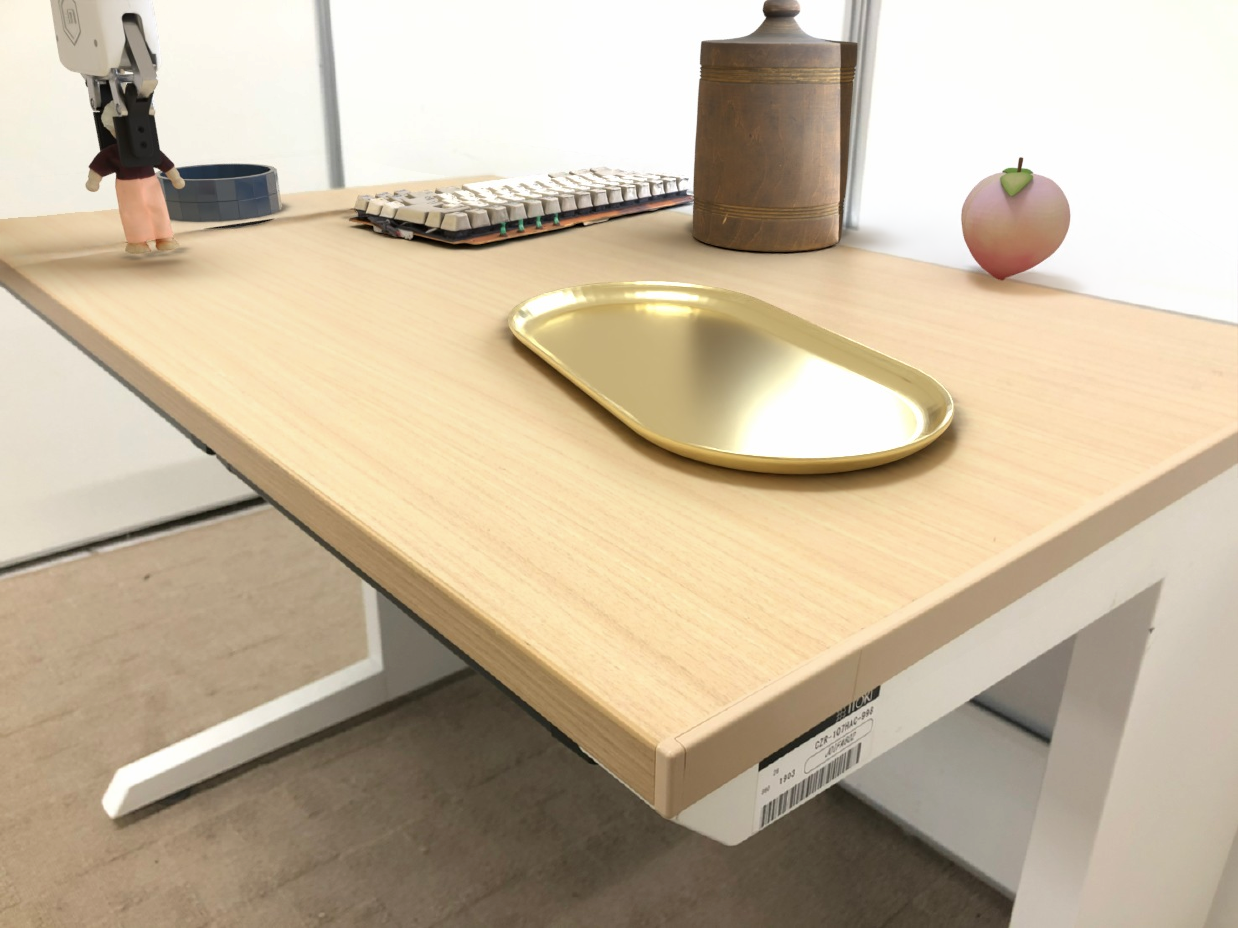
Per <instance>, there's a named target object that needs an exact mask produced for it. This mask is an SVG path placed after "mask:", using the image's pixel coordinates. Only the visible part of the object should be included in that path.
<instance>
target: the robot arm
mask: <svg viewBox="0 0 1238 928" xmlns="http://www.w3.org/2000/svg"><path fill="white" fill-rule="evenodd" d="M49 1H50V2H49V3H50V9H51V14H52V15H51V17H52V21H53V28H54V35H55V41H56V47H57V52H58V58H59V62H60V63H61V65H62V66H63V67H64V68H66V69H67V70H68V71H70V72H73V73H77V74H80V76H81V77H82V78H83V80H84V81H85V82H84V83H85V86H86V88H87V92H88V98H89V99H88V100H89V105H90V108H91V110H92V111H93V112H92V115H93V120H94V125H95V132H96V136H97V141H98V149H99V152H100V151H101V150H103V149H105V148H106V147H108V146H110V145H113V144H117V146H118V151H119V157H120V162H121V165H122V166H124V167H127V168H130V167H142V166H153V165H160V164H161V162H162V159H161V153H160V150H161V148H160V141H159V140H160V139H159V134H158V128H157V124H156V123H157V122H156V118H155V117H156V116H155V115H156V107H155V101H154V94H155V89H156V88H157V86H158V85H159V78H158V75H157V73H158V72H159V70H160V69H161V67H162V53H161V52H162V51H161V44H160V37H159V29H158V25H157V19H156V14H155V8H154V3H153V0H49ZM113 100H114V105H115V109H116V113H117V115H118V116H114V117H112V118H113V124H114V129H115V135H116V138H115V137H114V136H113V135H112V134H111V132H110V130H108V129H107V128H106V127H104V124H103V122H102V119H101V116H102V114H103V111H104V108H105V106H106V105H107V104H109V103H110V102H111V101H113Z"/></svg>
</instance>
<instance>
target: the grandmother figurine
mask: <svg viewBox="0 0 1238 928" xmlns="http://www.w3.org/2000/svg"><path fill="white" fill-rule="evenodd" d="M114 116H118V115H117V113H116V109H115V105H114V100H113V101H111V102H110V103H109V104H107V105H106V106H105V108H104V111H103V114H102V116H101V119H102V122H103V124H104V127H106V128H107V129H108V130H110V132H111V134H112V135H113V136H114V137H115V138H116V135H115V129H114V124H113V118H112V117H114ZM160 153H161V159H162V162H161V164H160V165H153V166H142V167H130V168H127V167H124V166H122V165H121V162H120V157H119V151H118V146H117V144H113V145H110V146H108V147H106V148H105V149H103V150H101V151H100V150H99V151H98V152H97V154H96V155H95V156H94V157H93V159H92V161H91V162H90V163H89V165H88V168H89V171H88V175H87V178H88V179H87V181H86V182H85V188H86V190H87V191H88V192H91V193H96V192H98V191H99V190H100V183H102V181H103V178H104V177H107V176H110V175H113V174H115V181H114V188H115V195H116V199H117V205H118V212H119V215H120V216H119V217H120V222H121V224H122V228H123V232H124V236H125V239H126V243H127V244H126V245H125V249H124V250H125V252H126V253H128V254H133V255H142V254H148V253H151V252H152V249H151V248H150V245H149V244H148V242H149V241H154V242H155V248H156V251H160V252H164V251H165V252H166V251H174V250H176V249H178V248H179V247H180V243H179V242H178V240H177V239H176V238H174V233H173V229H172V228H173V227H172V224H171V223H172V222H171V220H170V218H169V214H168V210H167V206H166V202H165V199H164V195H163V192H162V189H161V185H160V182H159V180H158V178H157V177H156V175H155V173H156V171H155V169H158V171H162V172H163V173H165V174H166V175H167V177H168V179H170V180H171V181H172V184H173V186H174V187H175V188H177V189H181V188H183V187H184V186H185V181H184V180H183V179H182V178H181V177H180V175H179V172H178V171H177V169H176V168H177V167H176V166H175V163H174V162H173V161H172V160H171V159H170V157H168V156H167V155H166V153H164V152H163V151H162V150H161V149H160Z"/></svg>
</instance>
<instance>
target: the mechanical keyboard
mask: <svg viewBox="0 0 1238 928" xmlns="http://www.w3.org/2000/svg"><path fill="white" fill-rule="evenodd" d="M689 190H691V186H690V180H689V176H688V175H682V174H678V175H675V176H674V174H673V173H667V172H663V173H659V174H658V173H651V172H646V173H641V172H637V171H629V172H628V171H626V170H623V169H620V168H616V169H611V168H609V167H607V166H601V167H593V168H592V167H591V168H589V170H588V169H586V168H583V169H579V170H570V171H569V172H566V171H560V172H556V173H548V174H547V175H546V174H545V173H544V174H543V173H541V174H531V175H524V176H523V175H522V176H515V177H509V178H500V179H492V180H484V181H477V182H470V183H463V184H462V185H461V187H458V186H457V185H452V186H447V187H437V188H435V190H434V191H433V190H430V189H425V190H420V191H413V192H412V191H410V190H408V189H399V190H393V194H391V193H390V192H386V191H383V192H381V193H375V194H374V196H373V195H372V194H366V195H360V194H359V195H357V196H356V197H357V198H356V201H355V204H354V206H353V210H354V211H355V212H356V214H357V216H353V217H350V218H348V221H349V222H353V223H357V224H364V225H367V226H373V231H374V233H381V234H384V235H389V236H393V237H394V238H398V237H399V238H404V239H405V240H409V241H411V240H412V239H413V238H414V236H417V237H422V238H426V239H431V240H434V241H439V242H443V243H447V244H452V245H458V244H469V245H475V246H476V245H481V244H487V243H493V242H498V241H504V240H507V239H512V238H513V239H514V238H518V237H523V236H528V235H533V234H540V233H544V232H549V231H554V230H560V229H564V228H568V227H569V228H570V227H573V226H575V225H576V224H583V225H584V226H589V225H593V224H598V223H603V222H608V221H609V219H610V218H616V217H621V216H625V215H630V214H636V213H641V212H648V211H650V212H651V211H657V210H659V209H662V208H667V207H668V208H669V207H674V206H676V205H677V206H678V205H683V204H689V203H693V202H694V201H693V199H694V198H693V196H694V194H688V192H687V191H689Z"/></svg>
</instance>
